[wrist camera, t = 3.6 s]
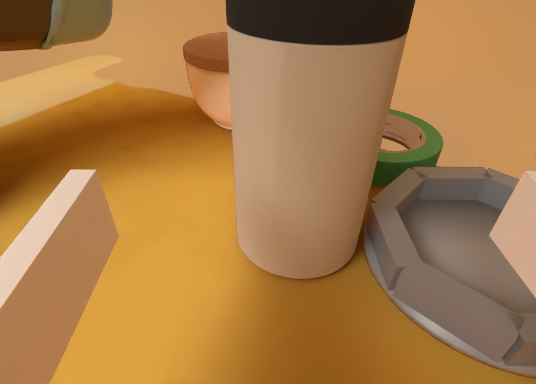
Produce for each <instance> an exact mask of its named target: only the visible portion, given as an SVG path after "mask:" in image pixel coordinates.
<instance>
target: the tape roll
mask: <svg viewBox="0 0 536 384" xmlns="http://www.w3.org/2000/svg"><path fill="white" fill-rule="evenodd" d="M382 138H385V139H388V140H391V141H394V142H397V143H399V144H401V145H402V146H404V147H405V148H407V149H408V150H404V151H379V154H378V158H377V162H376V166H375V171H374V175H373V179H372V183H371V185H378V186H388V185H389V184H390V183H391V182H393V181H394V180H395V179H396V178H397V177H399V176H400V175H401V174H402V173H403V172H405V171H406V170H407V169H408V168H410V169H412V167H435V166H436V163H437V161H438V158H439V155H440V152H441V150H442V146H443V139H442V136H441V135H440V133H439V132H438V131H437V130H436V129H435V128H434V127H433V126H431V125H430V124H428V123H427V122H425V121H423V120H421V119H419V118H417V117H414V116H412V115H409V114H406V113H403V112H399V111H396V110H391V109H389V112H388V116H387V121H386V125H385V129H384V133H383V137H382Z"/></svg>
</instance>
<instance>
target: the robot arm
mask: <svg viewBox="0 0 536 384" xmlns="http://www.w3.org/2000/svg"><path fill="white" fill-rule="evenodd" d="M111 16H112V0H0V51H14V50H29V49H41V50H45V49H50V48H51V47H52V46H55V45H62V44H69V43H76V42H83V41H90V40H93V39H96V38H98V37H99V36H101V35H102V34H103V33H104V32H105V31H106V29H107V28H108V26H109V24H110V21H111ZM118 236H119V235H118V232H117V229H116V226H115V223H114V220H113V217H112V214H111V211H110V208H109V206H108V203H107V200H106V197H105V194H104V191H103V188H102V185H101V182H100V179H99V176H98V173H97V170H70V171H69V172H68V173H67V175H66V176H65V177H64V178H63V180H62V181H61V182H60V183H59V185H58V186H57V187H56V188H55V190H54V191H53V192H52V193H51V195H50V196H49V197H48V198H47V200H46V201H45V202H44V204H43V205H42V206H41V207H40V209H39V210H38V211H37V212H36V214H35V215H34V216H33V217H32V219H31V220H30V221H29V222H28V224H27V225H26V226H25V227H24V229H23V230H22V231H21V232H20V234H19V235H18V236H17V237H16V239H15V240H14V241H13V242H12V244H11V245H10V246H9V247H8V249H7V250H6V251H5V252H4V254H3V255H2V256H1V257H0V384H50V382H51V380H52V377H53V375H54V373H55V371H56V369H57V367H58V365H59V362H60V360H61V358H62V356H63V354H64V352H65V350H66V347H67V345H68V343H69V341H70V339H71V337H72V335H73V332H74V330H75V328H76V326H77V324H78V322H79V320H80V317H81V315H82V313H83V311H84V309H85V307H86V305H87V302H88V300H89V298H90V296H91V294H92V292H93V290H94V287H95V285H96V283H97V281H98V279H99V277H100V275H101V272H102V270H103V268H104V266H105V264H106V262H107V260H108V258H109V255H110V253H111V251H112V249H113V247H114V245H115V243H116V240H117V238H118ZM489 236H490V237H491V239H492V240H493V241H494V243H495V244H496V246H497V247H498V248H499V250H500V251H501V252H502V254H503V255H504V256H505V258H506V259H507V260H508V262H509V263H510V264H511V266H512V267H513V268H514V270H515V271H516V272H517V274H518V275H519V276H520V278H521V279H522V280H523V282H524V283H525V284H526V286H527V287H528V288H529V290H530V291H531V292H532V294H533V295H534V297H535V298H536V171H524V173H523V175H522V176H521V178H520V180H519V182H518V184H517V185H516V187H515V189H514V191H513V193H512V194H511V196H510V198H509V200H508V202H507V203H506V205H505V207H504V209H503V211H502V212H501V214H500V216H499V218H498V220H497V221H496V223H495V225H494V227H493V229H492V231H491V232H490V234H489Z"/></svg>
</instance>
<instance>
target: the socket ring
mask: <svg viewBox="0 0 536 384" xmlns="http://www.w3.org/2000/svg"><path fill="white" fill-rule="evenodd" d="M519 180H520V179H517V178H514V177H511V176H509V175H506V174H503V173H500V172H497V171H495V170H492V169H489V168H488V169H487V170H485V169H484V168H483V167H412V169H410V168H408V169H407V170H406V171H405V172H403V173H402V174H401V175H400V176H399V177H397V178H396V179H395V180H394V181H393V182H391V183H390V184H389V185H388V186H387V187H385V188H384V189H383V190H382V191H381V192H380V193H378V194H377V195H376V196H375V197H374V198H372V199H371V203H370V207H369V211H368V215H367V219H366V223H365V227H364V233H363V248H364V252H365V256H366V260H367V262H368V265H369V267H370V270H371V272H372V274H373V275H374V277H375V279H376V281H377V282H378V284H379V285H380V287H381V288H382V289H383V291H384V292H385V293H386V295H387V296H388V297H389V298H390V300H391V301H392V302H393V303H394V304H395V305H396V306H397V307H398V308H399V309H400V310H401V311H402V312H403V313H404V314H405V315H406V316H407V317H409V318H410V319H411V320H412V321H413V322H414V323H415V324H416V325H418V326H419V327H421V328H422V329H423V330H425V331H426V332H427V333H429V334H430V335H431V336H433V337H434V338H436V339H437V340H439V341H441V342H442V343H444V344H446V345H447V346H449V347H451V348H452V349H454V350H456V351H458V352H460V353H462V354H464V355H466V356H468V357H470V358H472V359H474V360H476V361H479V362H482V363H484V364H487V365H489V366H492V367H494V368H497V369H500V370H504V371H507V372H511V373H514V374H518V375H521V376H527V377H532V378H536V298H535V297H534V295H533V294H532V292H531V291H530V290H529V288H528V287H527V286H526V284H525V283H524V282H523V280H522V279H521V278H520V276H519V275H518V274H517V272H516V271H515V270H514V268H513V267H512V266H511V264H510V263H509V262H508V260H507V259H506V258H505V256H504V255H503V254H502V252H501V251H500V250H499V248H498V247H497V246H496V244H495V243H494V241H493V240H492V239H491V237H490V236H489V234H490V232H491V231H492V229H493V227H494V225H495V223H496V221H497V220H498V218H499V216H500V214H501V212H502V211H503V209H504V207H505V205H506V203H507V202H508V200H509V198H510V196H511V194H512V193H513V191H514V189H515V187H516V185H517V184H518V182H519Z"/></svg>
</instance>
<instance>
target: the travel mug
mask: <svg viewBox="0 0 536 384" xmlns="http://www.w3.org/2000/svg"><path fill="white" fill-rule="evenodd" d="M414 4H415V0H226V16H227V37H228V58H229V79H230V99H231V120H232V141H233V161H234V182H235V202H236V223H237V238H238V243H239V245H240V248H241V250H242V251H243V253H244V254H245V255H246V257H247V258H248V259H249V260H250V261H252V262H253V263H254V264H255V265H257V266H258V267H260V268H262V269H263V270H265V271H268V272H270V273H272V274H275V275H279V276H282V277H287V278H295V279H309V278H317V277H321V276H325V275H328V274H330V273H333V272H335V271H337V270H339V269H340V268H342V267H343V266H344V265H345V264H346V263H347V262H348V261H349V260H350V259H351V258H352V256H353V254H354V252H355V249H356V246H357V242H358V237H359V233H360V229H361V225H362V221H363V217H364V212H365V208H366V204H367V200H368V196H369V192H370V187H371V183H372V179H373V175H374V171H375V166H376V162H377V158H378V154H379V150H380V146H381V141H382V137H383V133H384V129H385V125H386V121H387V116H388V112H389V108H390V104H391V100H392V96H393V91H394V87H395V83H396V79H397V75H398V70H399V66H400V62H401V58H402V54H403V49H404V45H405V41H406V37H407V32H408V29H409V24H410V20H411V16H412V12H413V8H414Z"/></svg>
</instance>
